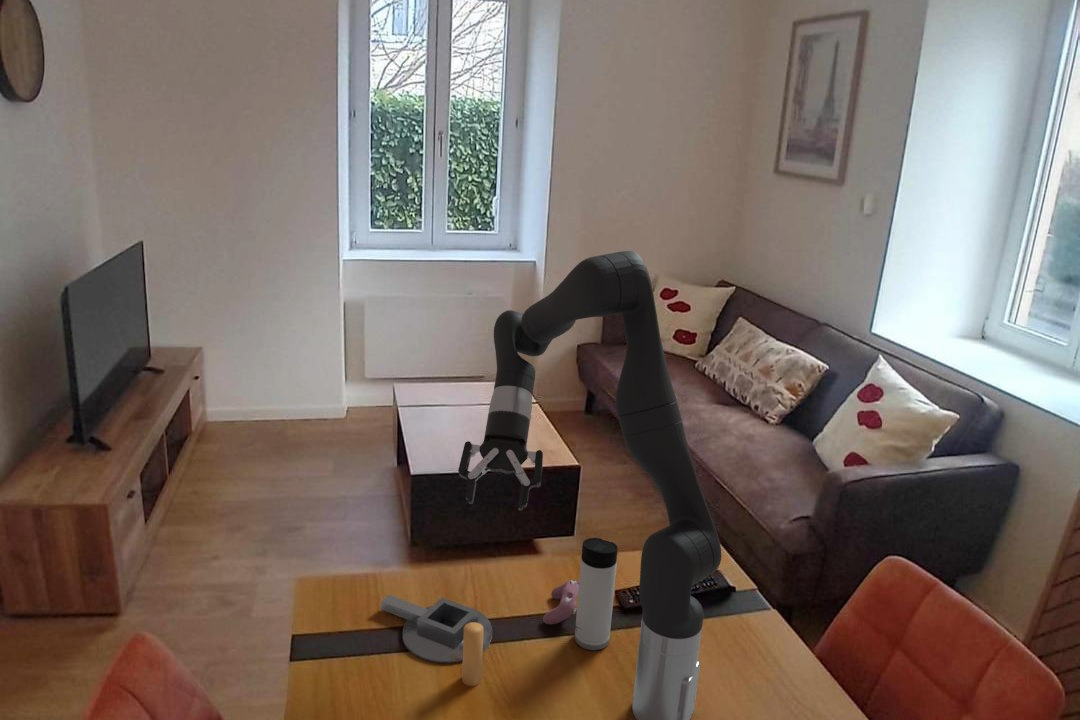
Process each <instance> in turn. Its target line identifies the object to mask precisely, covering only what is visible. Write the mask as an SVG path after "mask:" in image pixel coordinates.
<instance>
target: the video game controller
mask: <svg viewBox="0 0 1080 720" xmlns="http://www.w3.org/2000/svg"><path fill="white" fill-rule="evenodd" d="M578 590H579V581H576V580H573V579H570V580H567V581H566V582H564V583H563V584H561V585H559V586H557V587H554V588H553V589H552V591H551V593H550V595H551V597H552V599H554V600H560V602H559V604H558V605H557V606H556V607H555V608H553V609H551V610H549V611H547V612H546V613H545V614H543V618H542V620H543V621H542V622H543V623H545V624H546V625H556V624H559V623H561V622H563V621H564V620H566V619H568V618H569V617H570V616H571V615H572V616H573V615H575V614H577V608H576V606H577V601H576V600H577V598H578Z"/></svg>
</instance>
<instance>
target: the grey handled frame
mask: <svg viewBox="0 0 1080 720" xmlns="http://www.w3.org/2000/svg"><path fill="white" fill-rule="evenodd" d="M380 610H382V611H384V612H387V613H389V614H392V615H395V616H398V617H399V618H402V619H404V620H406V621H405V623H404V624H403V628H402V641H403V644H404V646H405V648H406V650H408V651H409V652H410V653H411V654H412V655H414V656H415V657H417V658H419V659H422V660H424V661H427V662H431V663H436V664H455V663H463V636H464V626H465V625H466V624H468V623H472V622H475V623H479V624H481V625H482V626H483V652H484V651H486V649H488V647H489V646H490V644H491V642H492V639H493V627H492V622H490V620H489V619H488V617H487V616H486V615H484V613H482V612H481V611H479V610H478V609H475V608H473V607H470V606H467V605H464V604H462V603H461V604H460V603H457V602H456V601H453V600H450V599H447V598H444V597H441V598H440V599H439V600H438V601H436V602H435V603H434V604H432V605H431V606H427V607H422V606H421V605H417V604H415V603H412V602H410V601H407V600H404V599H401V598H399V597H396V596H394V595H391V594H388V595H387V596H386V597H384V598H383V599H382V600H381V601H380Z"/></svg>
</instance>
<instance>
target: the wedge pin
mask: <svg viewBox="0 0 1080 720" xmlns="http://www.w3.org/2000/svg"><path fill="white" fill-rule="evenodd" d="M483 652H484V651H483V626H482V625H481V624H479V623H475V622H472V623H468V624H466V625H465V626H464V636H463V661H462V667H461V669H462V671H461V681H462V683H463V684H464V685H466V686H468V687H475V686H477V685H480V683H482V673H483V672H482V671H483Z"/></svg>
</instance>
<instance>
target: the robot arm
mask: <svg viewBox="0 0 1080 720" xmlns="http://www.w3.org/2000/svg"><path fill="white" fill-rule="evenodd" d="M648 270H649V269H648V268H647V265H646V263H645V261H644V260H643V258H642V257H641V256H640V255H639V254H638V253H637V252H635V251H633V250H632V251H631V250H621V251H617V252H612V253H611V252H610V253H606V254H600V255H595V256H590V257H587V258H585V259H583V260H580V262H579V263H578V264H577V265H575V266H574V267H573V268H572V270H570V272H569V273H568V274H567V275H566V276H565V278H564V279H563V280H562V281H561V282H560V283H559V285H557V286H556V288H555V289H554V290H553V291H551V292H550V293H549V294H548V295H546V296H544V297H543V298H541V299H539V301H537V302H535V303H534V304H532V305H531V306H529V307H528V308H527V309H526V310H525V311H524V312H523V313H522V312H518V311H515V310H511V309H509V310H505V311H503V312H502V313H501V314H499V315H498V316H497V319H496V320H495V323H494V327H493V344H494V349H495V360H496V361H495V362H496V372H495V373H496V374H495V381H494V387H493V392H492V394H491V395H492V396H491V399H490V402H489V408H488V414H487V420H486V425H485V431H484V438H483V442H482V443H481V444H480V445H479V444H473V443H472V442H471V441H468V440H467V441H466V442H464V445H463V448H462V449H463V450H462V453H461V458H460V462H459V467H458V470H457V471H458V474H459V477H460V478H462V479H464V480H466V481H467V482H466V488H465V493H464V496H465V497H464V498H465V499H466V501H467V502H468V505H469V504H470V505H474V502H475V501H474V500H475V494H476V489H477V481H478V480H479V479H480V478H481V477H482V476H484V475H485V474H487V472H488V471H491V472H492V473H503V474H506V475H511V474H513V473H514V474H515V476H516V478H517V479H518V480H519V482H520V484H521V486H520V491H519V499H518V504H517V505H518V506H517V510H518V511H523V510H524V508H527V506H528V503H529V496H530V490H531V489H532V488H540V487H541V486H542V479H543V477H542V476H543V462H544V452H543V451H542V450H541V449H538V450H536V451H532V450H531V451H530V450H529V451H528V448H527V446H528V438H529V431H530V423H531V421H532V420H531V419H532V412H533V411H532V409H533V393H534V387H535V380H536V369H535V366H533V364H531V362H529V361H527V360H526V359H524V358H523V357H522V356H520V354H523V355H525V356H528V357H529V356H530V357H540V356H541V355H543V354H545V352H546V351H547V350H548V348H549V346H550V344H551V343H552V341H553V340H554V339H556V338H558V337H560V336H562V335H564V334H565V333H567V332H568V331H570V330H571V329H572V328H573V326H574V325H575V323H576V321H578V320H582V319H590V318H604V317H608V316H609V317H610V316H613V315H618V314H619V315H620V314H621V317H622V320H623V324H624V325H623V326H624V332H625V336H626V337H625V339H626V351H625V356H624V361H623V365H622V368H621V372H620V375H619V379H618V382H617V387H616V391H615V392H616V393H615V399H614V402H615V410H616V415H617V418H618V423H619V426H620V430H621V434H622V437H623V438H622V439H623V441H624V444H625V446H626V449H627V450H628V451H629V453H630V455H631V456H632V457H633V458H634V460H635V461H636V462H637V464H638V465H639V466H640V467H641V468H642V469H643V470H644V472H645V473H646V474H647V475H648V476H649V477H650V478H651V480H652V481H653V482H654V484H655V485H656V486H657V488H658V489H659V490H658V491H659V492H660V494H661V496H662V499H663V502H664V506H665V509H666V513H667V517H668V523H669V525H668V526H666V527H664V528H661V529H660V530H658V531H655V532H654V533H652V534H650V535H649V536H648V537H647V538H646V541H645V542H644V544H643V547H642V551H641V557H640V569H639V570H640V571H639V588H638V589H639V590H638V591H639V594H638V595H639V600H640V605H641V608H642V615H641V623H640V632H639V633H640V634H639V641H638V649H637V650H638V651H637V661H636V667H635V675H634V676H635V678H634V686H633V687H634V688H633V696H632V707H631V708H632V709H631V710H632V714H633V716H634V718H635V719H636V720H691V718H692V716H693V713H694V712H695V705H696V697H697V690H698V683H699V677H700V676H699V675H700V671H701V670H700V668H701V661H699V659H698V657H699V653H700V645H701V644H700V643H701V637H702V630H703V623H704V615H705V614H704V609H703V606H702V604H701V602H699V600H698V599H697V598H695V597H694V596H692V588H693V586H695V585H696V584H698V583H700V582H701V581H704V579H706V578H708V577H709V576H712V575H713V574H714V573H715V572H716V571H717V570H718V568H719V567H720V565H721V561H722V545H721V542H720V539H719V534H718V532H717V528H716V526H715V523H714V520H713V518H712V515H711V513H710V509H709V508H708V507H709V506H708V504H707V502H706V499H705V496H704V494H703V491H702V488H701V485H700V482H699V479H698V476H697V473H696V469H695V466H694V461H693V458H692V455H691V451H690V448H689V443H688V440H687V437H686V433H685V429H684V424H683V419H682V415H681V412H680V407H679V404H678V400H677V397H676V394H675V391H674V387H673V383H672V380H671V377H670V372H669V369H668V363H667V360H666V356H665V351H664V347H663V342H662V338H661V333H660V326H659V320H658V313H657V308H656V302H655V296H654V291H653V290H654V289H653V285H652V281H651V280H652V279H651V276H650V274H649V271H648ZM478 453H479V454H480V456H481V457H482V459H481V460H480V461H479V462H478V463H477V464H476V466H475V467H474V468H473V469H472V470H471V471H469V467H470V462H471V458H473V457H475V456H476V454H478ZM528 459H529V460H530V463H531V464H532V465H534V473H533V474H534V475H533V476H534V477H533V478H529V477H528V476H527V473H526V472H525V470H524V469H523V467H522V465H523V463H525V462H526V461H527V460H528Z"/></svg>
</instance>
